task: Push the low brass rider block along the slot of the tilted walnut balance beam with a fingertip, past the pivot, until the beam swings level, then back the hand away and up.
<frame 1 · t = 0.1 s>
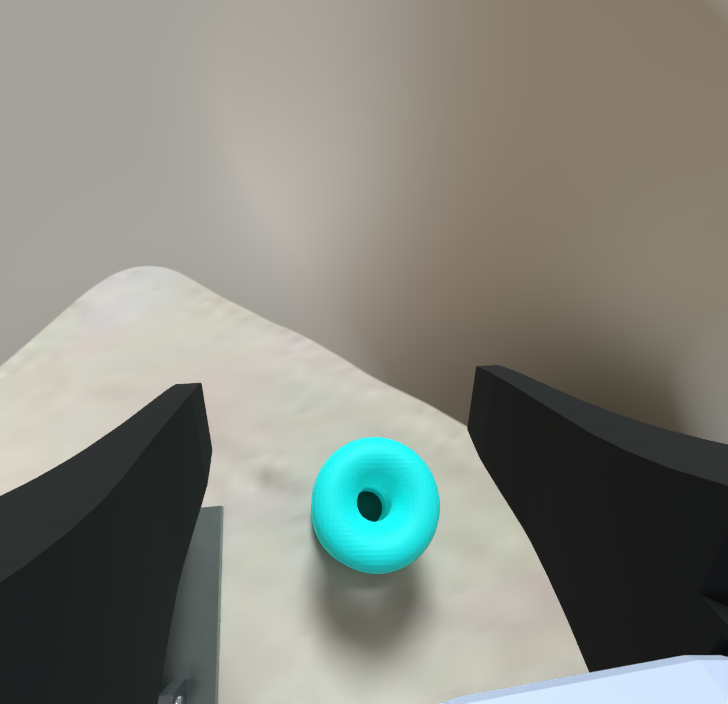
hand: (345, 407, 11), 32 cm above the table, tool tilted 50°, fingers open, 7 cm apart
beam stand: (124, 700, 33), on the table
donuts: (363, 509, 41), on the table
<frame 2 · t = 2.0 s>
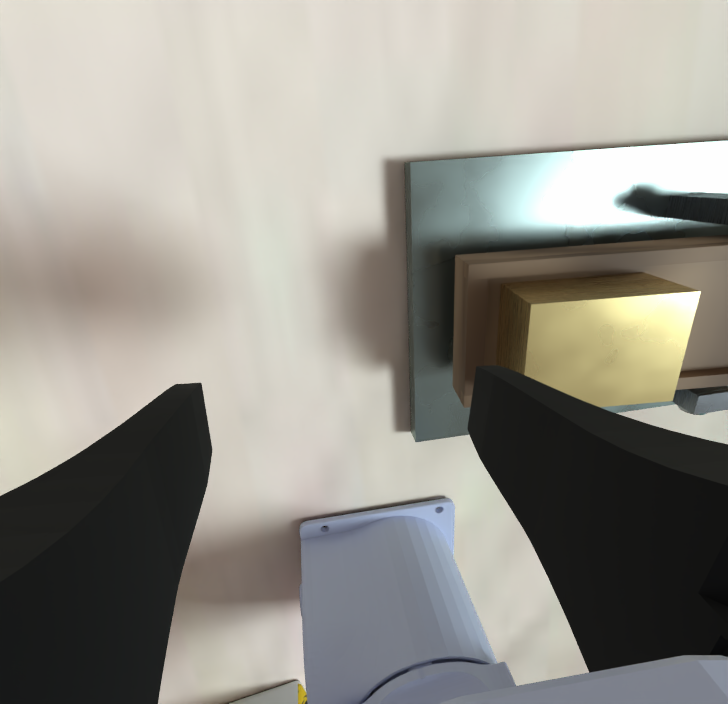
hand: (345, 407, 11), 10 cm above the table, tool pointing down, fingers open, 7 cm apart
brass rider: (566, 327, 18), point 4 cm above the table, tilted 6°, touching balance beam
beam stand: (652, 287, 23), on the table
balance beam: (725, 311, 19), point 4 cm above the table, hinge at -5.6°, touching brass rider
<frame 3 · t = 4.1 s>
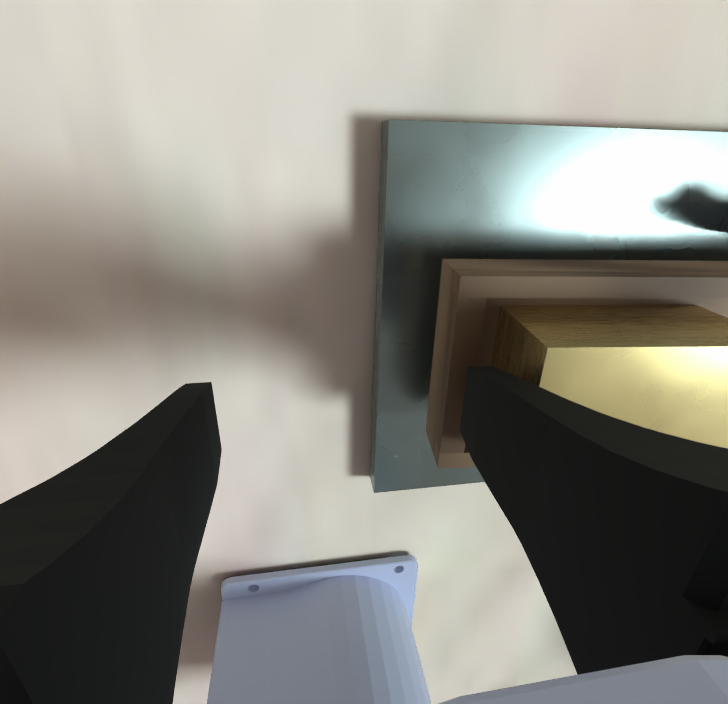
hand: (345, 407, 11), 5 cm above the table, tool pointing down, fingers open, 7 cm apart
brass rider: (582, 371, 13), point 4 cm above the table, tilted 6°, touching balance beam, gripper
beam stand: (685, 318, 18), on the table
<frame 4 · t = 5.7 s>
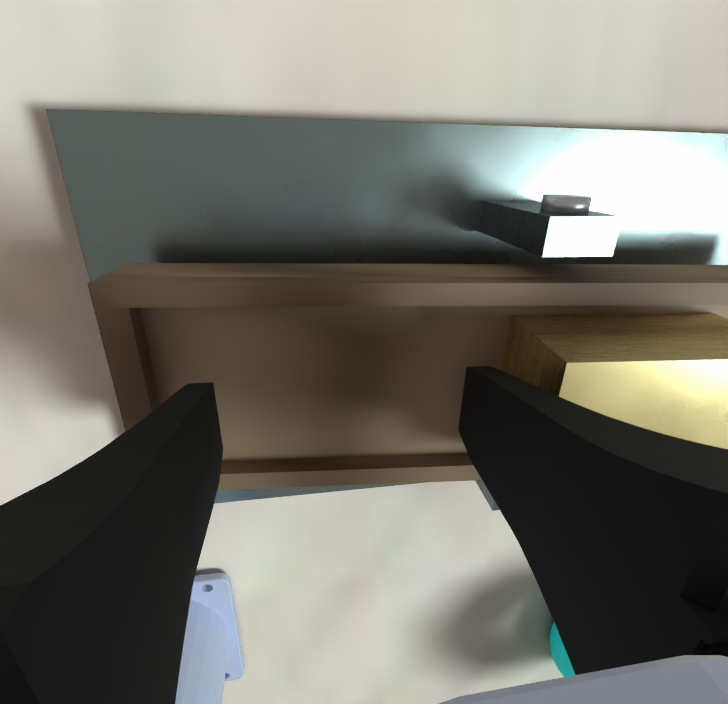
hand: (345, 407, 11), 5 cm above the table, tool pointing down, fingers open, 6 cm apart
brass rider: (595, 382, 13), point 5 cm above the table, touching balance beam, gripper
beam stand: (479, 324, 17), on the table
donuts: (611, 604, 28), on the table
balance beam: (535, 374, 13), point 4 cm above the table, hinge at -4.7°, touching brass rider
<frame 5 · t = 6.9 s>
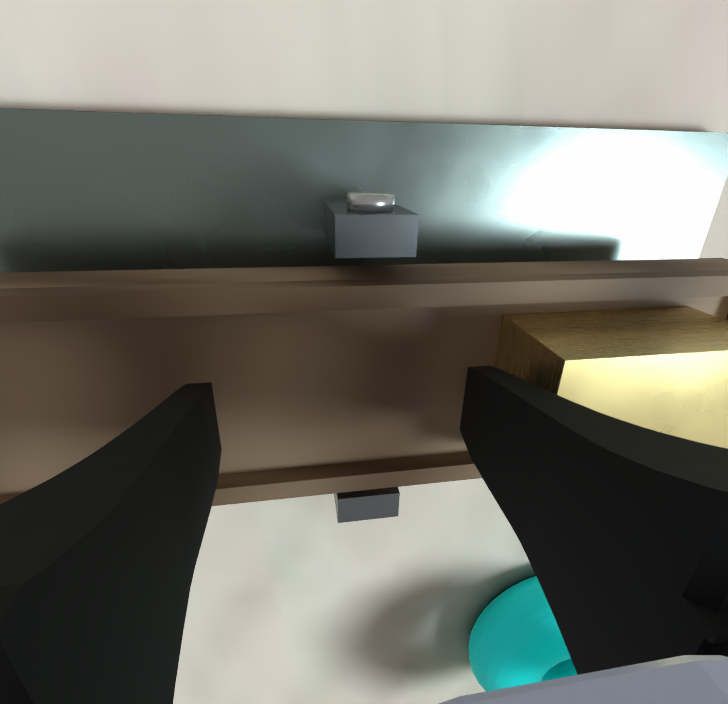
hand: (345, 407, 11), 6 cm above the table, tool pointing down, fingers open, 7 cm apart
brass rider: (581, 376, 13), point 5 cm above the table, touching balance beam, gripper
beam stand: (349, 327, 16), on the table
donuts: (535, 612, 27), on the table
balance beam: (368, 380, 13), point 4 cm above the table, hinge at 0.3°, touching brass rider
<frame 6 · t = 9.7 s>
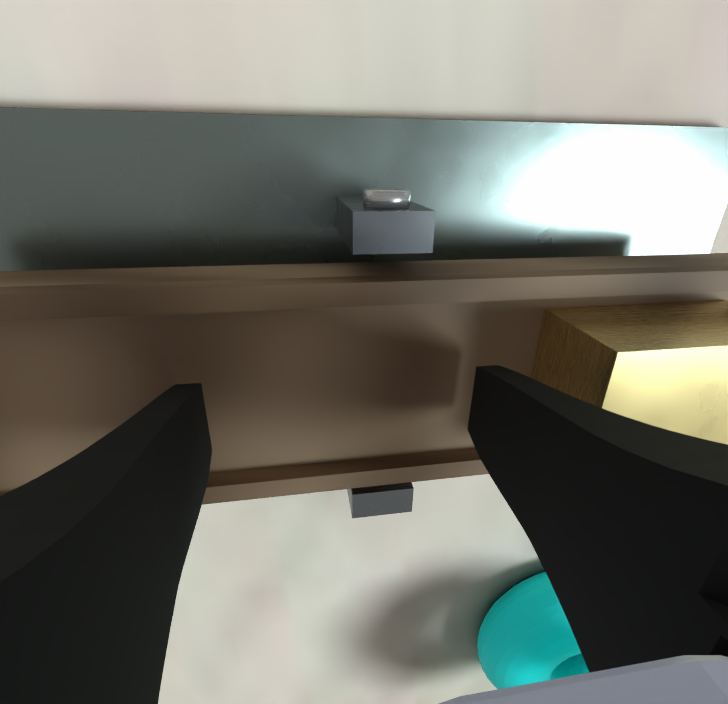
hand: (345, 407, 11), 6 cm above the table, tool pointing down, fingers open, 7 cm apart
brass rider: (618, 370, 13), point 5 cm above the table, touching balance beam
beam stand: (360, 324, 16), on the table
donuts: (543, 608, 27), on the table
balance beam: (382, 376, 13), point 4 cm above the table, hinge at 0.3°, touching brass rider
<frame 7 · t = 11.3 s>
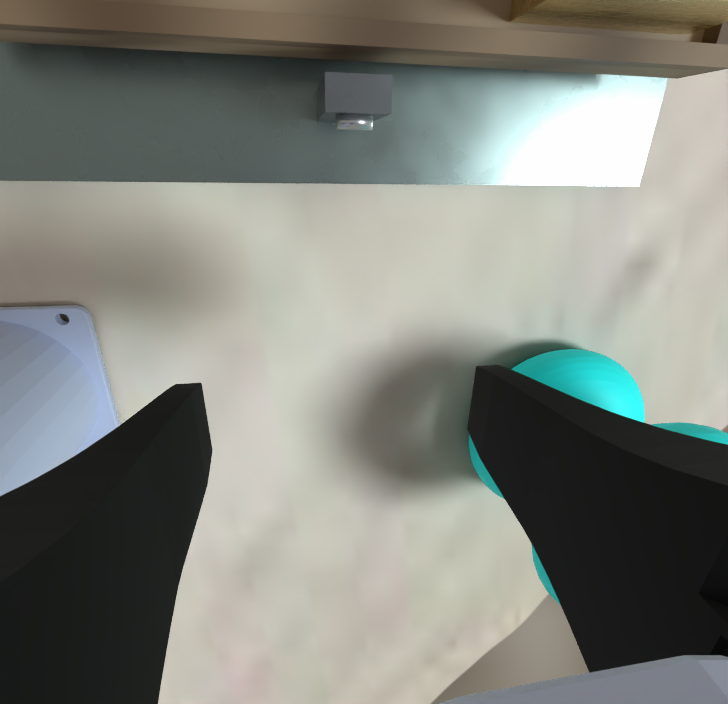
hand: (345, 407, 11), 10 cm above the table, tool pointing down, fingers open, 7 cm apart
donuts: (539, 415, 26), on the table
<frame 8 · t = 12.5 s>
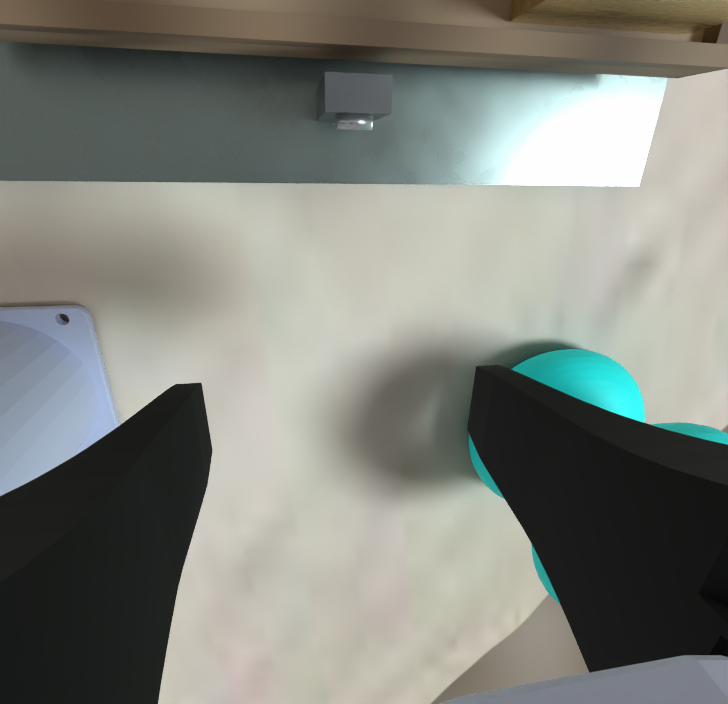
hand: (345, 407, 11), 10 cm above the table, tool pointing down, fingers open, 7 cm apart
donuts: (539, 415, 26), on the table
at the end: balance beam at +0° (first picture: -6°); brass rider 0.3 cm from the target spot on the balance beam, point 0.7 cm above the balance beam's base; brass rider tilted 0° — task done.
